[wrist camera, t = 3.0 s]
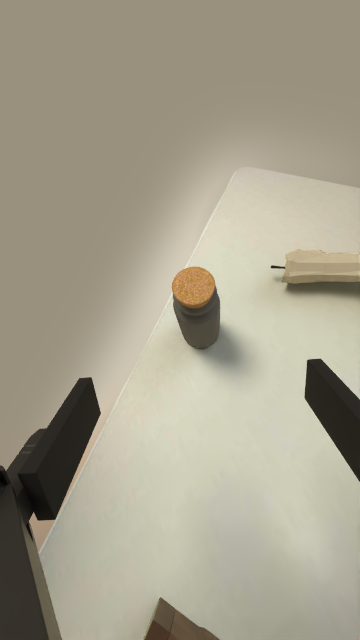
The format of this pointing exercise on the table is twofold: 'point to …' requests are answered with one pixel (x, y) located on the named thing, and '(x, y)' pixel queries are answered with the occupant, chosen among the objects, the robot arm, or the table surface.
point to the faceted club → (321, 267)
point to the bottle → (197, 306)
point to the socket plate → (173, 626)
